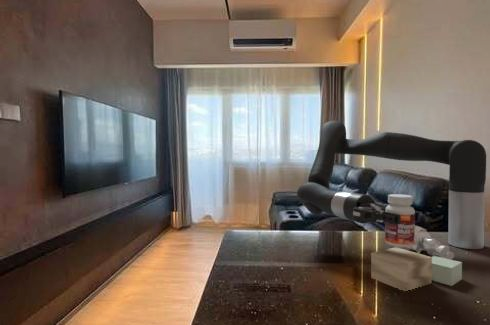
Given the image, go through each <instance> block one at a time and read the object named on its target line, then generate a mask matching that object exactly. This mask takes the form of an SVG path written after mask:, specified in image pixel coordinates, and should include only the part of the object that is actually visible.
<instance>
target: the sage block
mask: <svg viewBox="0 0 490 325" xmlns="http://www.w3.org/2000/svg"><path fill="white" fill-rule="evenodd" d="M431 257H432V281H433V282H435V283H440V284H444V285H447V286H451V287H453V286H454V285H455V284H457V283H459V282H460V281H462V279H463V262H462V261H458V260H454V259H452V260H450V259H446V258H441V257H438V256H431Z"/></svg>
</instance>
